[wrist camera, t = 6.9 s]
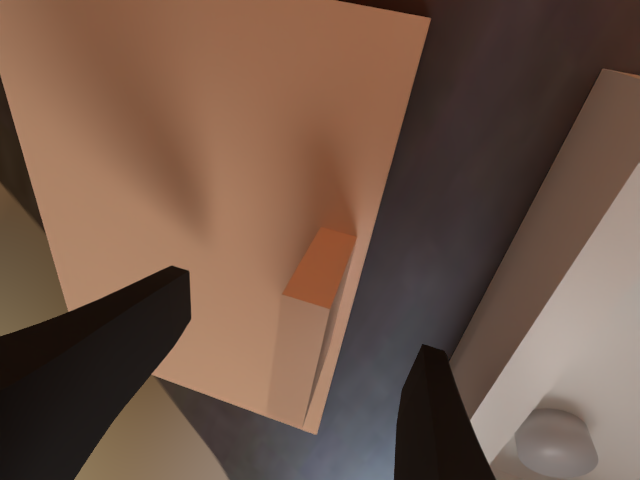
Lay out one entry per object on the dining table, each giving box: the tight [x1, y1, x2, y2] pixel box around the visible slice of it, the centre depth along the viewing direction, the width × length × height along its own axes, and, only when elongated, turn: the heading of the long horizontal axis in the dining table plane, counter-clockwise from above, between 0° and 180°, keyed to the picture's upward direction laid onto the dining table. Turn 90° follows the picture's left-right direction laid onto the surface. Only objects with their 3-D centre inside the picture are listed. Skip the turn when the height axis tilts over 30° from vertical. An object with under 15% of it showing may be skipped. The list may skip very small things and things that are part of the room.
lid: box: [0, 0, 431, 435], centre depth 13 cm, size 17×13×5 cm
